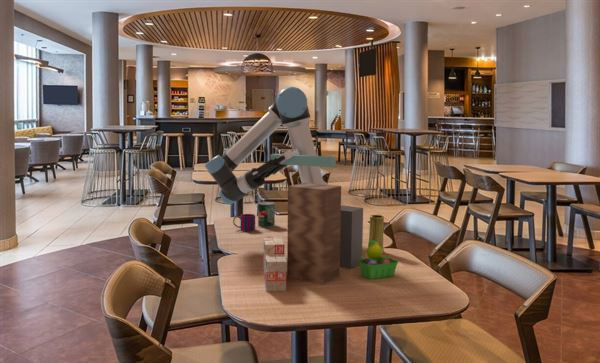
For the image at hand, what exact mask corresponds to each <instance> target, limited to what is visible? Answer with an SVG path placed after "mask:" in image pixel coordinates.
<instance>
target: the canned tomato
mask: <svg viewBox="0 0 600 363" xmlns="http://www.w3.org/2000/svg"><path fill="white" fill-rule="evenodd" d="M275 208H276V206H275V202H274V201H259V202H257V221H258V222H257V223H258V224H257V226H258V227H259V226H261V228H271V227H270V226H274V225H275V221H276V220H275V214H276V213H275V212H276V211H275V210H276V209H275ZM274 227H275V226H274Z"/></svg>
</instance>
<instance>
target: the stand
mask: <svg viewBox="0 0 600 363" xmlns="http://www.w3.org/2000/svg"><path fill="white" fill-rule="evenodd" d="M341 205H342V185H333V184H332V185H331V184H328V185H322V184H311V183H302V182H300V183H296V184H292V185H288V186H287V243H286V244H287V248H286V249H287V252H286V254H287V258H286V260H287V271H286V272H287V275H286V278H290V279H295V280H299V279H300V281H304V282H309V283H315V284H320V285H327V284H329V283H331V282H332V281H334V280H336V279H337V278H340V276H341V275H340V274H341V272H340V271H341V267H340V228H341Z"/></svg>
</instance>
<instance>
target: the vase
mask: <svg viewBox="0 0 600 363" xmlns="http://www.w3.org/2000/svg"><path fill="white" fill-rule="evenodd" d="M384 217H385V216H384V215H380V214H372V215H370V216H369V234H368V235H369V236H368V242H369V241H371V240H374V241H376V242H377V243H378V244H379V245H380V246H381V248H382V249H383V253H382V254H384V252H385V250H384V223H385V221H384V220H385V218H384Z"/></svg>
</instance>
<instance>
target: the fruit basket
mask: <svg viewBox="0 0 600 363" xmlns="http://www.w3.org/2000/svg"><path fill="white" fill-rule="evenodd" d="M367 245H368V246H367V249H366V256H367V257H368V258H362V259H361V260H359V263H360V264H359V266H360V271H361V273H362V276H364V277H366V278H367V277H368V278H367V279H369V280H373V279H374V278H375V279H381V278H388V277H393V276H394V274H395V272H396V268H397V266H398V263H399V261H398V260H396V259H394V258H391V257H389V256H382V255H383V254H384V253H383V250H384V248H383V249H382V248H381V246H380V245H379V244H378V243H377V242H376V241H374V240H371V241H369V240H368V244H367ZM387 276H388V277H387ZM380 277H381V278H380Z"/></svg>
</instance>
